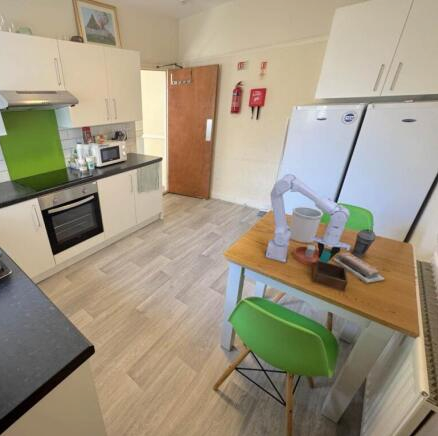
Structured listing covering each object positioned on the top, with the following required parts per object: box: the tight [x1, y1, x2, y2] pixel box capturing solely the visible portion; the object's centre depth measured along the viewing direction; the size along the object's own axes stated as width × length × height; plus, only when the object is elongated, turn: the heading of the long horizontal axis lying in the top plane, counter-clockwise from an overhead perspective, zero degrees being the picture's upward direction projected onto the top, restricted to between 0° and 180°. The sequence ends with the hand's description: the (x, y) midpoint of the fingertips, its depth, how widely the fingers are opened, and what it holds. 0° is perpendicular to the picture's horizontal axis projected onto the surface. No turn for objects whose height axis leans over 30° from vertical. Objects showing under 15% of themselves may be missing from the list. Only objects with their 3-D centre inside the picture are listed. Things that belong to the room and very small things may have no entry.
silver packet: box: [305, 244, 316, 258], centre depth 126 cm, size 3×5×5 cm
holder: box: [312, 260, 349, 292], centre depth 110 cm, size 11×11×6 cm
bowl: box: [292, 245, 320, 267], centre depth 125 cm, size 14×14×3 cm
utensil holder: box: [288, 205, 324, 244], centre depth 140 cm, size 15×15×18 cm
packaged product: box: [332, 251, 385, 284], centre depth 116 cm, size 18×5×10 cm
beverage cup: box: [352, 223, 377, 259], centre depth 122 cm, size 7×7×20 cm
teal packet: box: [320, 247, 332, 263], centre depth 112 cm, size 3×5×5 cm
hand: (324, 257), depth 112 cm, fingers closed on teal packet, 3 cm apart
